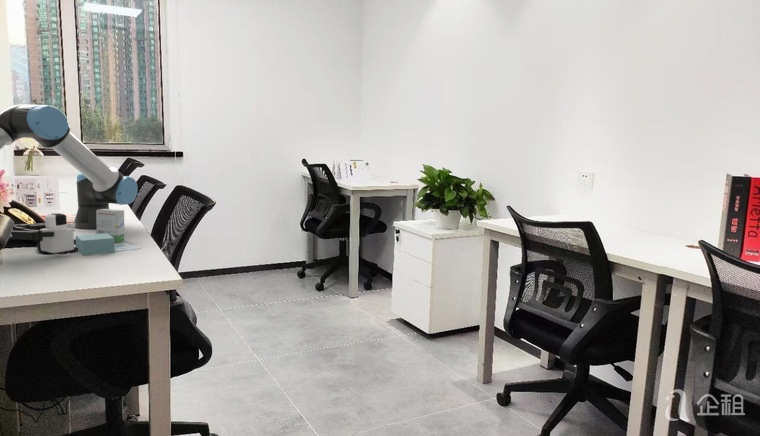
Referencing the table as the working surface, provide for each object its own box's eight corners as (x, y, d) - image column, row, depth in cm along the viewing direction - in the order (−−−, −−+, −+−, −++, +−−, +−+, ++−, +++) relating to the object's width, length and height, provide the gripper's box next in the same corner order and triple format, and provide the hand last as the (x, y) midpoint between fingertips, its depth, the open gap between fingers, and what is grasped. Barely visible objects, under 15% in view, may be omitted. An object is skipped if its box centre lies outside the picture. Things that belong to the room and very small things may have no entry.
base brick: (76, 249, 196) (75, 235, 195) (107, 246, 202) (106, 233, 201) (82, 255, 188) (81, 240, 187) (114, 252, 194) (114, 237, 193)
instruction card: (103, 245, 203) (103, 245, 203) (125, 243, 209) (125, 242, 209) (117, 251, 195) (117, 251, 195) (140, 248, 201) (140, 248, 201)
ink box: (96, 241, 211) (94, 210, 209) (104, 238, 216) (103, 208, 214) (118, 242, 210) (117, 211, 208) (125, 240, 215) (124, 209, 213)
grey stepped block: (61, 246, 190) (59, 211, 189) (74, 249, 187) (72, 214, 185) (40, 250, 184) (38, 214, 182) (53, 253, 181) (51, 216, 179)
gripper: (5, 236, 191) (78, 235, 197) (-21, 251, 170) (62, 249, 176) (3, 214, 190) (77, 213, 196) (-23, 226, 168) (60, 225, 174)
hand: (70, 230), depth 186 cm, fingers closed on grey stepped block, 10 cm apart
